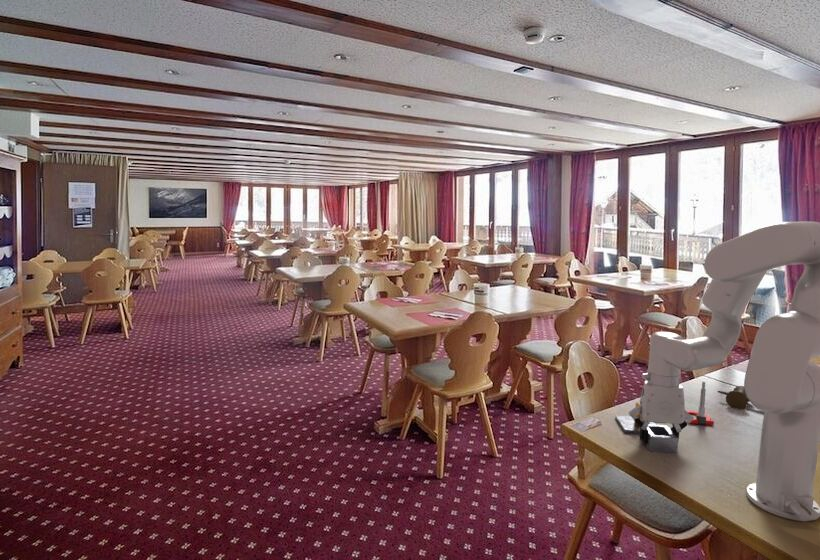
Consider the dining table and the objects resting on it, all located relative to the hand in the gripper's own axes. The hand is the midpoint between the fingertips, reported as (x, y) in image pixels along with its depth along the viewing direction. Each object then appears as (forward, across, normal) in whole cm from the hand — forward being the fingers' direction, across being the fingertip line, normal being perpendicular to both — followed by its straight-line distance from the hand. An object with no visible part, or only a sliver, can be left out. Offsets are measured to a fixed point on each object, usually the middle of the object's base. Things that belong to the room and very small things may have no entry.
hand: (658, 442), depth 129 cm
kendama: (+1, +39, +32) cm, 50 cm away
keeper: (+1, -2, +11) cm, 11 cm away
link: (+1, 0, 0) cm, 1 cm away
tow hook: (+1, +17, +20) cm, 26 cm away
